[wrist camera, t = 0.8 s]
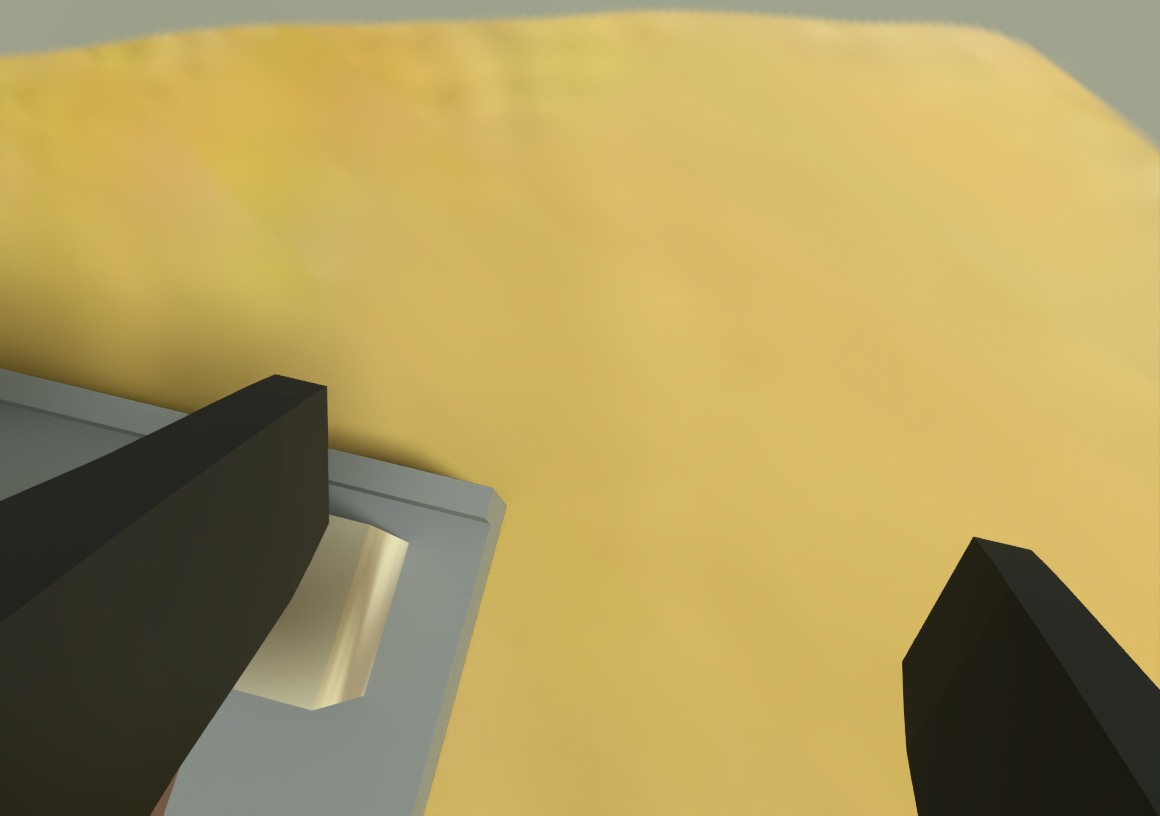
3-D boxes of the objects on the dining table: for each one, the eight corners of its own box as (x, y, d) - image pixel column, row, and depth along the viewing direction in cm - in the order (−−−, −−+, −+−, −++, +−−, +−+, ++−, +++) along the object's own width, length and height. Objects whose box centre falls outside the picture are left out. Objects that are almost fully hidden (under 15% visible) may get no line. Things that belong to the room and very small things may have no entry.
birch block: (363, 695, 21) (312, 710, 18) (217, 656, 22) (135, 663, 18) (409, 542, 22) (370, 524, 19) (267, 507, 23) (200, 482, 19)
